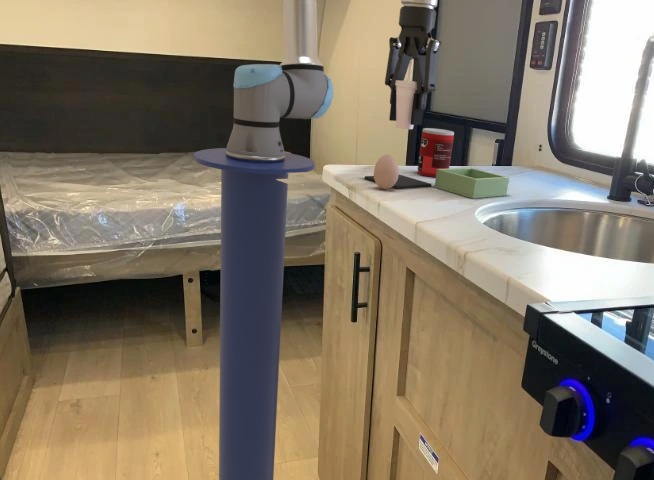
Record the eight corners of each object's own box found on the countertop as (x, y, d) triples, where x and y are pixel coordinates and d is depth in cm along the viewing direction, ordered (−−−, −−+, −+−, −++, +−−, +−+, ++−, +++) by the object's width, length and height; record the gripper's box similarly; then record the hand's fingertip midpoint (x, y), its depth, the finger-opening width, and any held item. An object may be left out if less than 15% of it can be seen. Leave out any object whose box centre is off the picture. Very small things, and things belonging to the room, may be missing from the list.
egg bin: (434, 187, 137) (436, 169, 135) (467, 184, 144) (470, 167, 142) (472, 198, 129) (475, 179, 127) (506, 195, 136) (509, 177, 134)
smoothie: (407, 126, 137) (415, 60, 132) (424, 130, 132) (433, 62, 127) (384, 125, 134) (392, 58, 128) (401, 129, 129) (409, 59, 123)
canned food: (423, 170, 157) (428, 127, 153) (452, 175, 154) (458, 131, 150) (412, 173, 151) (417, 128, 147) (442, 179, 148) (448, 133, 144)
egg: (384, 185, 132) (388, 152, 129) (401, 190, 129) (406, 156, 126) (367, 187, 129) (370, 152, 126) (384, 192, 125) (388, 157, 122)
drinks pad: (364, 178, 138) (364, 176, 138) (399, 176, 145) (399, 174, 144) (396, 188, 130) (396, 186, 130) (431, 186, 137) (431, 183, 137)
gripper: (465, 10, 120) (448, 129, 128) (400, 9, 133) (389, 117, 141) (439, 4, 115) (423, 128, 123) (375, 4, 128) (364, 116, 137)
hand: (405, 122), depth 132 cm, fingers closed on smoothie, 6 cm apart
